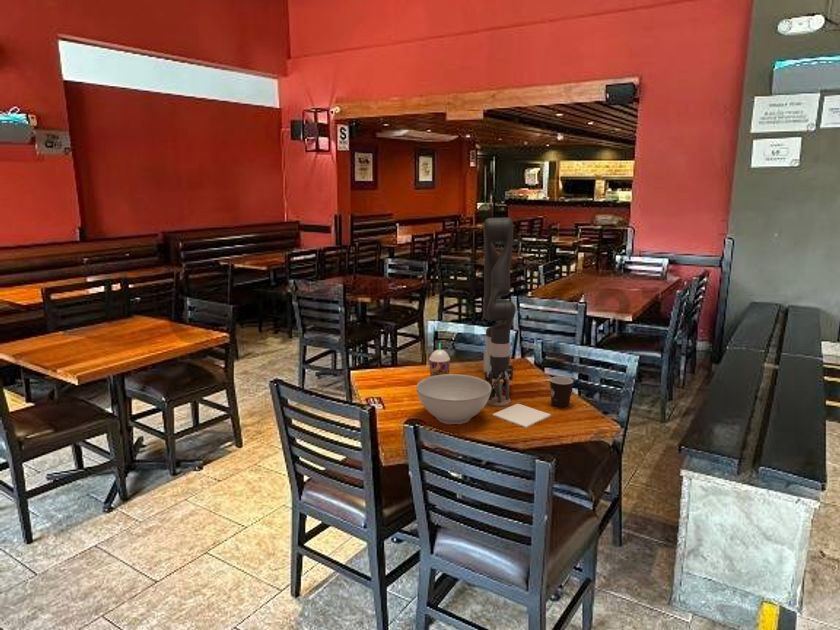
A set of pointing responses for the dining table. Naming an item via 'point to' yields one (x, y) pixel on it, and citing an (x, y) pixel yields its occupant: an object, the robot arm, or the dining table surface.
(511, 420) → the mat
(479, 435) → the dining table surface
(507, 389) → the stool
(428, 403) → the decorative bowl
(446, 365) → the smoothie
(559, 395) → the coffee mug
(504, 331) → the robot arm
